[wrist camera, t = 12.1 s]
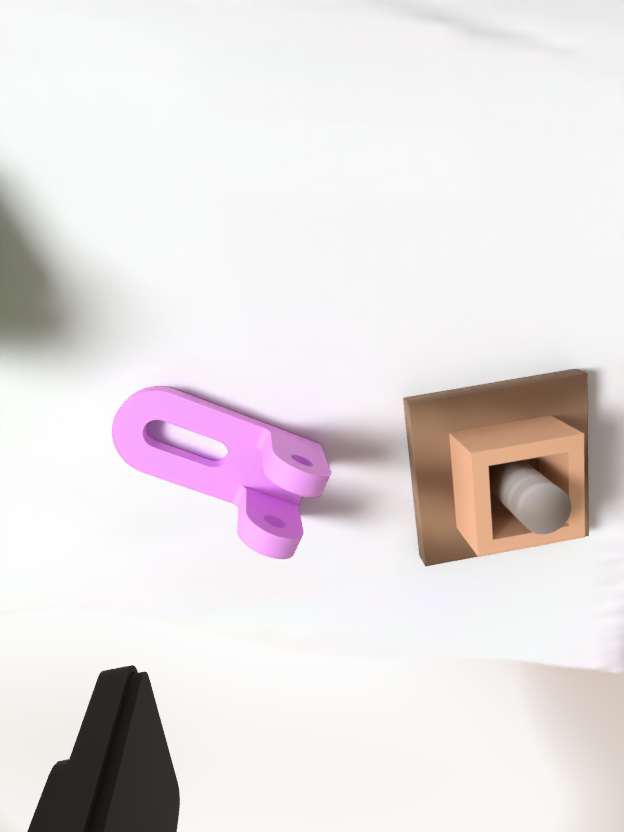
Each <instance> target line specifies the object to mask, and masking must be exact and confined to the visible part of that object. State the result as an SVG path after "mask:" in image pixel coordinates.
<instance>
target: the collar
mask: <svg viewBox="0 0 624 832" xmlns="http://www.w3.org/2000/svg"><path fill="white" fill-rule="evenodd" d="M449 438H450V450H451V463H452V476H453V489H454V501H455V514H456V527H457V529H458V530H459V532H460V533H461V534H462V536H463V537H464V538H465V540H466V541H467V542H468V544H469V545H470V546H471V548H472V549H473V550H474V552H475V553H476V555H477V556H478V557H480V556H486V555H491V554H496V553H502V552H507V551H513V550H518V549H523V548H529V547H534V546H540V545H545V544H550V543H556V542H561V541H567V540H572V539H578V538H583V537H585V487H584V433H582V432H580V431H578V430H577V429H575V428H573V427H571V426H569V425H568V424H566V423H564V422H562V421H560V420H558V419H557V418H555V417H553V416H545V417H539V418H533V419H528V420H522V421H516V422H510V423H504V424H498V425H492V426H487V427H481V428H475V429H469V430H463V431H457V432H452V433H449ZM536 457H538V472H539V473H541V474H542V475H543V476H545V477H546V478H547V479H548V480H550V481H551V482H552V483H554V484H555V485H556V486H558V487H559V488H560V489H561V490H563V491H564V492H565V493H566V494H567V495H568V497H569V499H570V501H571V513H570V516H569V518H568V520H567V521H566V523H565V524H564V525H563V526H562V527H561V528H560V529H558V530H557V531H555V532H552V533H549V534H536V533H533V532H531V531H530V530H529V529H527V528H526V527H525V526H524V525H523V524H522V523H521V522H520V521H519V520H518V519H517V518H516V517H515V516H514V515H513V514H512V513H511V512H510V511H509V510H508V509H507V508H506V507H505V506H502V507H496V508H491V501H490V484H489V467H488V466H491V465H496V464H502V463H508V462H514V461H519V460H525V459H531V458H536Z"/></svg>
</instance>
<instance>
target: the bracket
mask: <svg viewBox="0 0 624 832" xmlns="http://www.w3.org/2000/svg"><path fill="white" fill-rule="evenodd" d="M152 420H162V421H165V422H168V423H170V424H173V425H176V426H179V427H181V428H184V429H187V430H190V431H192V432H195V433H198V434H201V435H203V436H206V437H209V438H212V439H214V440H217V441H220V442H222V443H223V444H224V445H225V446H226V447H227V450H228V453H227V455H226V456H225V457H224V458H223V459H221V460H218V461H212V460H209V459H206V458H203V457H200V456H198V455H195V454H192V453H189V452H186V451H183V450H181V449H178V448H175V447H172V446H169V445H167V444H164V443H161V442H158V441H155V440H153V439H152V438H151V437H150V436H149V435H148V433H147V431H146V424H147V423H148V422H150V421H152ZM112 437H113V442H114V445H115V448H116V450H117V452H118V453H119V455H120V456H121V457H122V459H123V460H124V461H125V462H126V463H127V464H129V465H130V466H131V467H133V468H134V469H136V470H138V471H141V472H143V473H146V474H149V475H152V476H155V477H158V478H160V479H163V480H166V481H169V482H172V483H175V484H178V485H181V486H184V487H187V488H190V489H192V490H195V491H198V492H201V493H204V494H207V495H210V496H213V497H216V498H219V499H222V500H225V501H227V502H230V503H233V504H235V505H236V506H237V507H238V536H239V538H240V539H241V540H242V541H243V543H245V544H246V545H247V546H248V547H249V548H251V549H252V550H254V551H256V552H258V553H260V554H262V555H265V556H268V557H271V558H276V559H287V558H290V557H292V556H293V555H294V553H295V551H296V548H297V546H298V544H299V542H300V540H301V538H302V535H303V527H302V522H301V517H300V512H299V506H298V505H299V503H300V500H301V498H302V496H305V497H319V496H320V495H321V494H322V492H323V489H324V487H325V485H326V483H327V481H328V478H329V476H330V474H331V471H330V468H329V465H328V462H327V460H326V457H325V454H324V451H323V449H322V446H321V444H319V443H317V442H314V441H311V440H309V439H306V438H303V437H301V436H298V435H295V434H293V433H290V432H287V431H285V430H282V429H280V428H277V427H274V426H272V425H269V424H266V423H264V422H261V421H258V420H256V419H253V418H250V417H248V416H245V415H242V414H240V413H237V412H234V411H232V410H229V409H226V408H224V407H221V406H219V405H216V404H213V403H211V402H208V401H205V400H203V399H200V398H197V397H195V396H192V395H189V394H187V393H184V392H181V391H179V390H176V389H173V388H170V387H164V386H154V387H148V388H144V389H142V390H139V391H137V392H136V393H134V394H133V395H131V396H130V397H129V398H128V399H127V400H126V401H125V402H124V403H123V405H122V406H121V407H120V408H119V410H118V412H117V413H116V415H115V418H114V421H113V426H112Z"/></svg>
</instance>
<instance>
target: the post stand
mask: <svg viewBox="0 0 624 832" xmlns="http://www.w3.org/2000/svg"><path fill="white" fill-rule="evenodd" d="M403 401H404V410H405V420H406V430H407V439H408V449H409V459H410V468H411V478H412V488H413V497H414V507H415V517H416V526H417V536H418V545H419V555H420V557H421V559H422V561H423V563H424V565H425V566H430V565H435V564H441V563H446V562H451V561H457V560H462V559H467V558H473V557H478V556H477V555H476V553H475V552H474V550H473V549H472V548H471V546H470V545H469V544H468V542H467V541H466V540H465V538H464V537H463V536H462V534H461V533H460V532H459V530H458V529H457V527H456V514H455V501H454V489H453V476H452V463H451V450H450V438H449V433H452V432H457V431H463V430H469V429H475V428H481V427H487V426H492V425H498V424H504V423H510V422H516V421H522V420H528V419H533V418H539V417H545V416H553V417H555V418H557V419H558V420H560V421H562V422H564V423H566V424H568V425H569V426H571V427H573V428H575V429H577V430H578V431H580V432H582V433H584V487H585V536H589V515H588V407H587V373H585V372H582V371H579V370H577V369H571V370H565V371H559V372H553V373H548V374H542V375H536V376H530V377H524V378H518V379H512V380H506V381H500V382H495V383H489V384H483V385H477V386H471V387H465V388H459V389H453V390H447V391H441V392H436V393H430V394H424V395H418V396H412V397H406V398H403ZM488 467H489V484H490V501H491V508H496V507H502V506H505V507H506V508H507V509H508V510H509V511H510V512H511V513H512V514H513V515H514V516H515V517H516V518H517V519H518V520H519V521H520V522H521V523H522V524H523V525H524V526H525V527H526V528H527V529H529V530H530V531H531V532H533V533H536V534H549V533H552V532H555V531H557V530H558V529H560V528H561V527H562V526H563V525H564V524H565V523H566V521H567V520H568V518H569V516H570V513H571V501H570V499H569V497H568V495H567V494H566V493H565V492H564V491H563V490H561V489H560V488H559V487H558V486H556V485H555V484H554V483H552V482H551V481H550V480H548V479H547V478H546V477H545V476H543V475H542V474H541V473H539V472H538V457H536V458H531V459H525V460H519V461H514V462H508V463H502V464H496V465H491V466H488Z"/></svg>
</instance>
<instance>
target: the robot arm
mask: <svg viewBox="0 0 624 832" xmlns="http://www.w3.org/2000/svg"><path fill="white" fill-rule="evenodd" d="M179 805H180V796H179V787H178V782H177V779H176V775H175V771H174V768H173V764H172V760H171V757H170V753H169V749H168V746H167V742H166V738H165V735H164V731H163V727H162V724H161V720H160V717H159V713H158V709H157V705H156V702H155V698H154V694H153V691H152V687H151V683H150V680H149V677H148V674H147V672H140V673H138V672H137V669H136V667H135V666H133V665H132V666H127V667H121V668H116V669H111V670H106V671H102V672H101V673H100V675H99V677H98V679H97V682H96V685H95V688H94V691H93V694H92V697H91V700H90V702H89V705H88V708H87V711H86V714H85V716H84V720H83V722H82V725H81V728H80V731H79V734H78V736H77V739H76V742H75V745H74V748H73V751H72V754H71V756H70V759H68V760H63V761H58V762H57V763H56V764H55V765H54V766H53V768H52V770H51V772H50V774H49V776H48V779H47V782H46V784H45V787H44V789H43V792H42V795H41V797H40V800H39V803H38V806H37V808H36V811H35V813H34V816H33V818H32V821H31V824H30V826H29V829H28V832H177V824H178V815H179Z"/></svg>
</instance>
